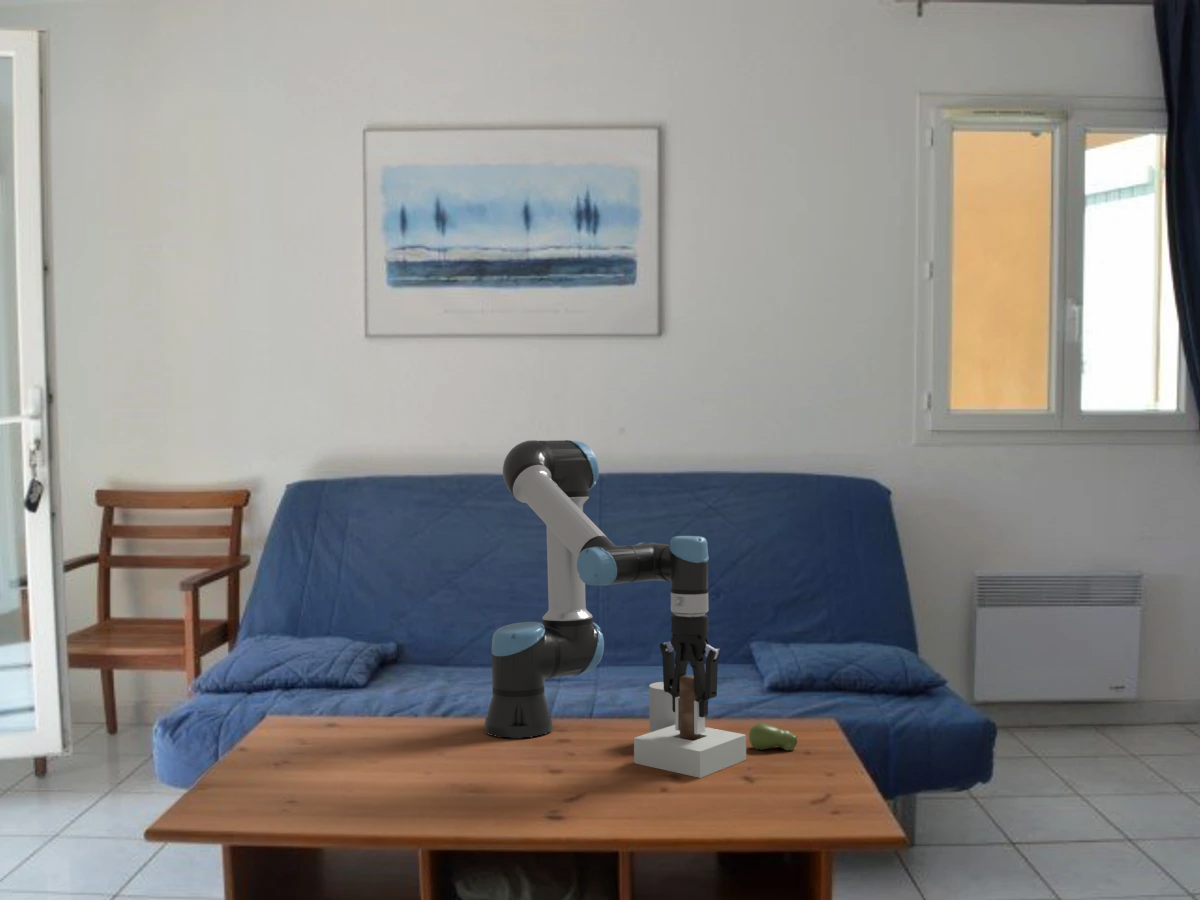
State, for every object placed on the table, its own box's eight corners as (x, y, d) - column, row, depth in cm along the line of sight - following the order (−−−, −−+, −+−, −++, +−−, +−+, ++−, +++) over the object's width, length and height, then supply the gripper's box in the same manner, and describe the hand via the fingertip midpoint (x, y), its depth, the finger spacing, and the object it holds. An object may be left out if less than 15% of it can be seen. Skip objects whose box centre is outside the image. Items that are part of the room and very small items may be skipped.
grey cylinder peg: (688, 737, 237) (687, 681, 237) (687, 747, 229) (687, 689, 229) (650, 736, 237) (650, 681, 237) (648, 746, 229) (648, 689, 229)
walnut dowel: (675, 747, 218) (675, 677, 218) (687, 743, 221) (687, 674, 221) (692, 751, 215) (691, 680, 215) (703, 746, 218) (703, 676, 218)
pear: (749, 718, 230) (796, 726, 230) (745, 743, 230) (792, 751, 230) (753, 725, 224) (801, 733, 224) (749, 750, 224) (797, 758, 224)
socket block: (634, 763, 217) (633, 737, 217) (681, 746, 229) (681, 722, 229) (700, 778, 207) (700, 751, 207) (746, 759, 219) (746, 734, 219)
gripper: (644, 612, 221) (645, 727, 221) (714, 620, 210) (714, 741, 210) (666, 608, 226) (667, 720, 226) (735, 615, 216) (736, 734, 215)
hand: (690, 730), depth 218 cm, fingers closed on walnut dowel, 4 cm apart
